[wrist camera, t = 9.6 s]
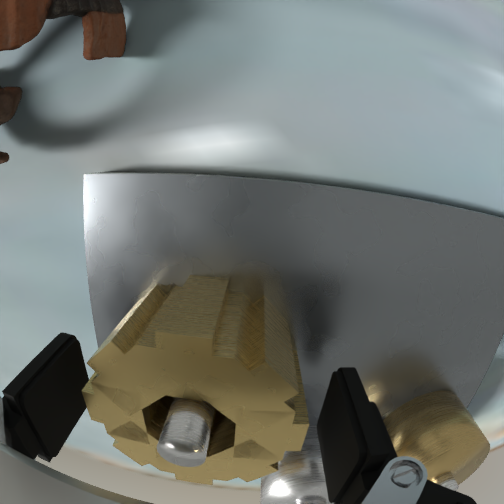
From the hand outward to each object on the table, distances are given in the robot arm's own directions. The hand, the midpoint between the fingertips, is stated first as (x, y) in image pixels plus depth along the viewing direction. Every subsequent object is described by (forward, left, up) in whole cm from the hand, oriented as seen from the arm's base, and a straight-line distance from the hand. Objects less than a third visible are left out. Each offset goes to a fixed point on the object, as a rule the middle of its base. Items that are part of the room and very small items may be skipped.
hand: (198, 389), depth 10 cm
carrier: (-4, +3, -4) cm, 6 cm away
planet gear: (0, 0, -2) cm, 2 cm away
